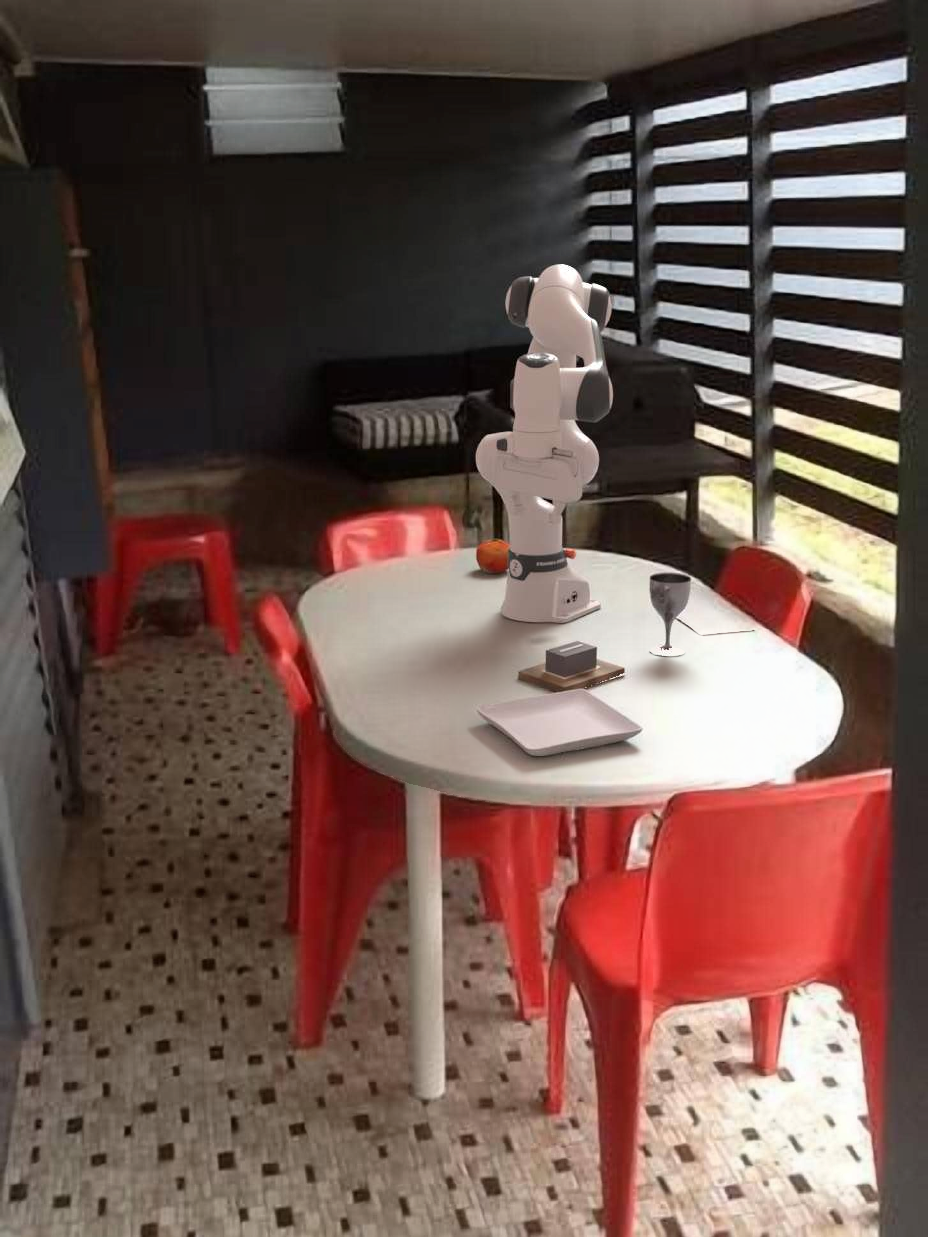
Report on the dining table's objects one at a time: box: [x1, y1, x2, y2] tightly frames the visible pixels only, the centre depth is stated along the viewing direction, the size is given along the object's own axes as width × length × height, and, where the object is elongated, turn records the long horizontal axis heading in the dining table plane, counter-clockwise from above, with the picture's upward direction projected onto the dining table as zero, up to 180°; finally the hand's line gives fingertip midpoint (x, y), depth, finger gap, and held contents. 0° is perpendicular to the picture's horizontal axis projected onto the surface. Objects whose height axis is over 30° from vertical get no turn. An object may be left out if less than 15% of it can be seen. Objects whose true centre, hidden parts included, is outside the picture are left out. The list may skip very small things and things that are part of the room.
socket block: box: [545, 640, 598, 677], centre depth 254 cm, size 8×5×4 cm, turn 132°
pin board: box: [517, 658, 626, 693], centre depth 254 cm, size 16×12×4 cm
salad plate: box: [475, 688, 643, 757], centre depth 227 cm, size 21×21×3 cm
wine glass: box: [648, 572, 692, 650], centre depth 267 cm, size 8×8×15 cm
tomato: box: [475, 538, 510, 574], centre depth 327 cm, size 9×9×8 cm
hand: (536, 518), depth 254 cm, fingers open, 8 cm apart
